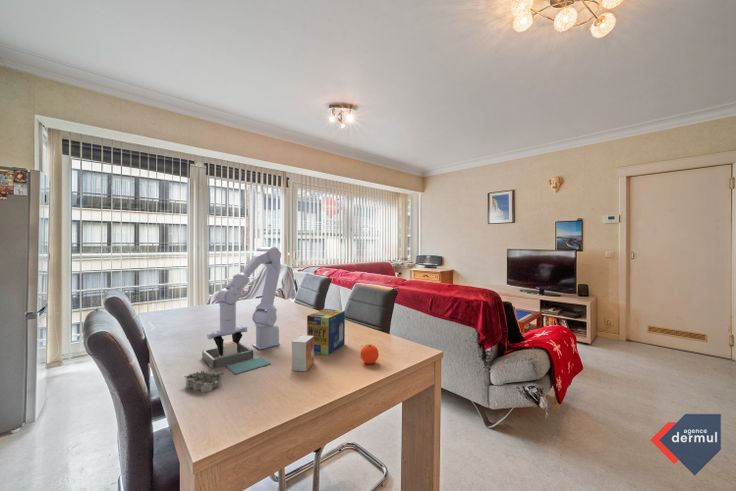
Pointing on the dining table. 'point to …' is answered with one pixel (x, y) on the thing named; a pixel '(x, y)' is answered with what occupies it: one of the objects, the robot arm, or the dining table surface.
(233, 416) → the dining table surface
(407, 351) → the dining table surface
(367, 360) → the clementine
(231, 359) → the bin
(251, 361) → the mat
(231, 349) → the box
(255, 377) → the dining table surface
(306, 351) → the small box
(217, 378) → the egg carton
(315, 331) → the protein box
